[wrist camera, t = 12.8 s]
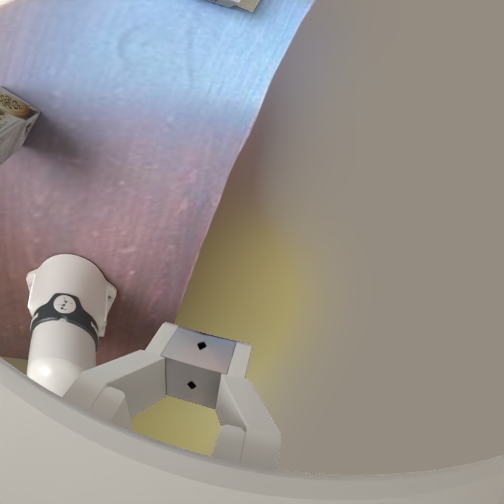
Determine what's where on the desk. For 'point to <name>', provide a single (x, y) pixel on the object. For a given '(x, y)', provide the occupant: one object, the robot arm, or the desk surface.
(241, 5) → the mat
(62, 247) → the desk surface
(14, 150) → the coffee box
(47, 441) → the robot arm
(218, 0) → the medicine box
